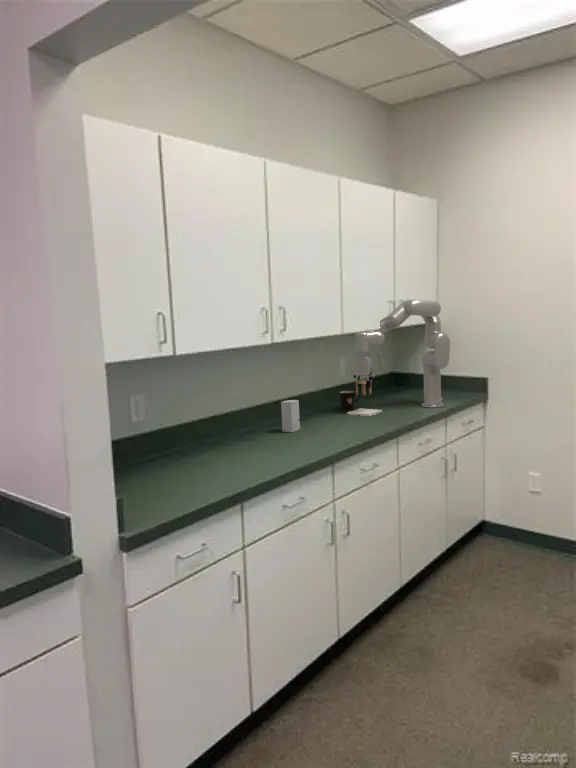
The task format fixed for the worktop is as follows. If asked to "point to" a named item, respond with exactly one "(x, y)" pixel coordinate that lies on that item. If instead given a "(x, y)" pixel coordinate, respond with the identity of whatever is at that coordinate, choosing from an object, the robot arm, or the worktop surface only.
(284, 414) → the skincare box
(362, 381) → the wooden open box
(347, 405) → the coffee mug
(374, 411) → the white board
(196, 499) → the worktop surface
